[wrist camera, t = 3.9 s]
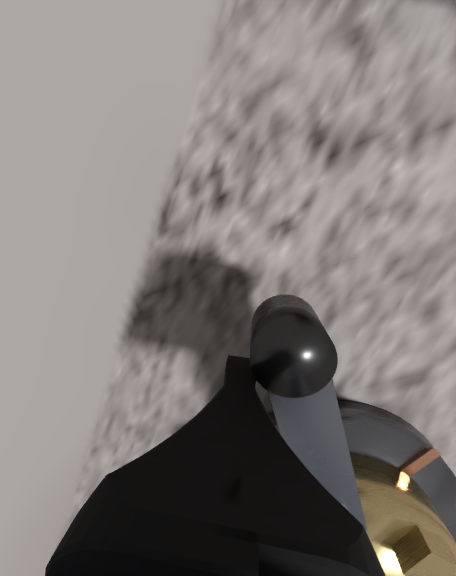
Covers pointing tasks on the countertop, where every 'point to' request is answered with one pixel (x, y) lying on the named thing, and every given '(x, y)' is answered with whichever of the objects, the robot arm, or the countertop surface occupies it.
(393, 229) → the countertop surface
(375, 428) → the mounting plate
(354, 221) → the countertop surface
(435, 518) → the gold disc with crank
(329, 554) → the robot arm
